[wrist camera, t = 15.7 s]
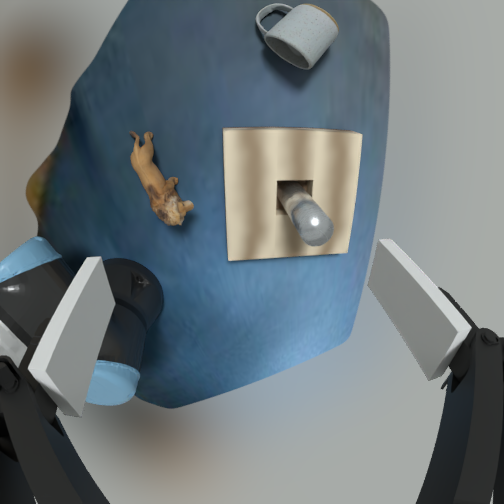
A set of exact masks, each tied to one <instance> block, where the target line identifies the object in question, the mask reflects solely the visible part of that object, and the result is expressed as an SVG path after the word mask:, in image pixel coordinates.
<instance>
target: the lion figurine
mask: <svg viewBox="0 0 504 504" xmlns="http://www.w3.org/2000/svg"><path fill="white" fill-rule="evenodd" d="M129 134H130V135H131V136H132V137H134V138H136V140H135V144H134V151H133V152H132V154H131V164H132V166H133V168H134V170H135V171H136V172H137V174H138V176H139V178H140V180H141V182H142V185H143V187H144V188H145V190H146V192H147V193H148V195H149V198H150V205H151V208H152V210H153V211H154V212H155V213H156V215H157V216H158V217H159V219H161V220H162V221H164V222H165V223H166V224H167V225H168V226H169V225H172V226H174V225H177V224H179V225H181V223H182V222H183V220H184V216H185V215H186V213H187V212H188V211H190V210H192V209H193V207H194V205H193V203H192V202H191V201H189V200H188V201H182V200H181V198H180V197H179V196H178V194H177V192H176V191H175V189H174V185H175V184H177V183H178V178H176V177H171V178H169V179H168V180H166V181H165V179H164V177H163V175H162V174H161V172H160V171H159V169H158V168H157V167H156V165H155V164H154V163H153V162H152V158H153V154H154V149H153V144H152V142H151V140H152V138H153V134H152V133H151V132H146V133H145V134H144V139H145V144H144V145H143V146H142V147H141V148H140V147H139V136H138V135H136V133H135V132H133V131H130V132H129Z"/></svg>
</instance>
